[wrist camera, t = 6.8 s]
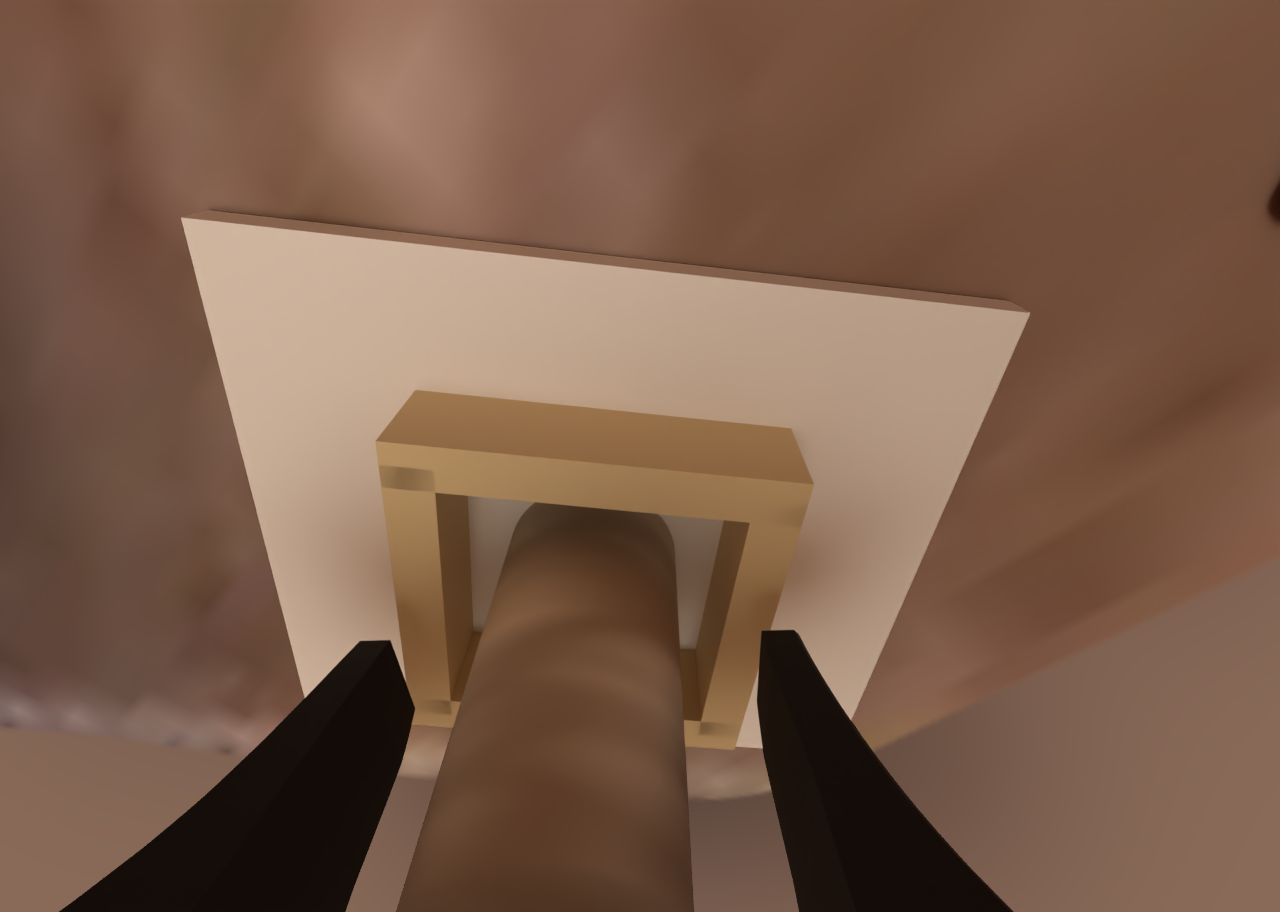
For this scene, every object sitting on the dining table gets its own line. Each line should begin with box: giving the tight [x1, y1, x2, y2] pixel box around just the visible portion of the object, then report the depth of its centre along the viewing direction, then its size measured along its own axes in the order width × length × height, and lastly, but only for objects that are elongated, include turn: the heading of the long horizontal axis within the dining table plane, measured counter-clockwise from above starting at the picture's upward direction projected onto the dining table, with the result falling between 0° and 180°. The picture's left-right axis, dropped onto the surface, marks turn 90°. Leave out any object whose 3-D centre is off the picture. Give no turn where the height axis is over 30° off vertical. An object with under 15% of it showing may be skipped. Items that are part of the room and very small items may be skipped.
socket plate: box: [181, 210, 1030, 750], centre depth 15 cm, size 16×14×3 cm
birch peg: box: [396, 502, 694, 912], centre depth 12 cm, size 4×4×8 cm
